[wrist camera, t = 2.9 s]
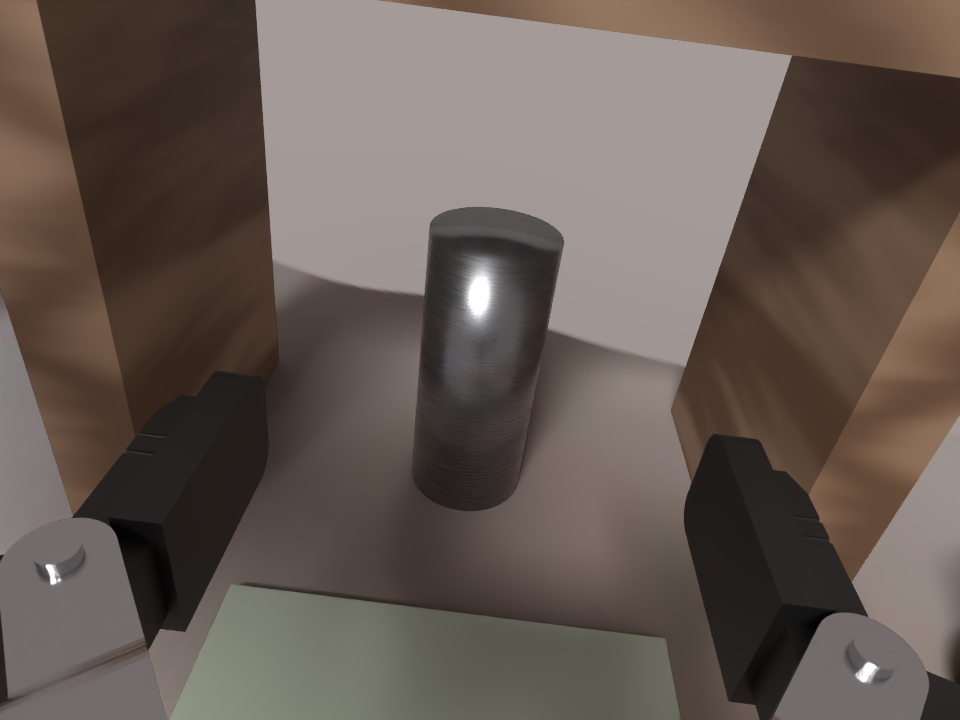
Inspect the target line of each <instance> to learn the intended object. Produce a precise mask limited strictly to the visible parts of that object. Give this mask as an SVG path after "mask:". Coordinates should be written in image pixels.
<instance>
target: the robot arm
mask: <svg viewBox="0 0 960 720" xmlns="http://www.w3.org/2000/svg"><path fill="white" fill-rule="evenodd" d="M268 447H269V443H268V430H267V418H266V407H265V395H264V385H263V381H262V378H261V377H260V376H258V375H250V374H242V373H234V372H226V371H215V372H214V373H213V374H212V375H211V376H210V377H209V379H208V380H207V382H206V383H205V384H204V386H203V387H202V388H201V390H200V391H199V393H198V394H197V395H196V396H188V395H180V396H179V397H177V398H176V399H174V400H172V401H171V402H169V403H168V404H166V405H165V406H163V407H161V408H160V409H158V410H157V411H155V413H154V414H153V415H152V416H151V418H150V419H149V420H148V421H147V423H146V424H145V425H144V427H143V428H142V429H141V430H140V432H139V436H136V437H135V438H134V439H133V441H132V442H131V443H130V444H129V446H128V447H127V448H126V452H125V454H124V453H122V455H121V456H120V457H119V458H118V460H117V461H116V462H115V463H114V465H113V466H112V467H111V469H110V470H109V471H108V472H107V474H106V475H105V476H104V477H103V479H102V480H101V481H100V482H99V484H98V485H97V486H96V488H95V489H94V490H93V491H92V493H91V494H90V495H89V496H88V498H87V499H86V500H85V502H84V503H83V504H82V505H81V507H80V508H79V509H78V510H77V512H76V513H75V514H74V516H73V517H72V518H70V519H63V520H59V521H55V522H52V523H49V524H46V525H43V526H41V527H39V528H37V529H35V530H33V531H31V532H30V533H28V534H26V535H25V536H23V537H22V538H21V539H19V540H18V541H17V542H16V543H15V544H13V545H12V546H11V547H10V548H9V550H8V551H7V552H6V553H5V555H0V720H167V718H166V715H165V711H164V707H163V704H162V700H161V696H160V693H159V689H158V685H157V682H156V678H155V674H154V671H153V667H152V663H151V660H150V656H149V652H148V650H149V648H150V646H151V645H152V643H153V641H154V639H155V637H156V635H157V633H158V632H159V630H160V629H166V630H174V631H183V632H185V631H186V629H187V627H188V625H189V623H190V621H191V619H192V617H193V615H194V613H195V611H196V609H197V607H198V605H199V603H200V601H201V599H202V597H203V595H204V593H205V591H206V589H207V587H208V585H209V583H210V581H211V579H212V577H213V575H214V573H215V571H216V569H217V567H218V565H219V563H220V561H221V559H222V557H223V555H224V552H225V550H226V548H227V546H228V544H229V542H230V540H231V538H232V536H233V534H234V532H235V530H236V528H237V526H238V524H239V522H240V520H241V518H242V516H243V514H244V512H245V510H246V508H247V506H248V504H249V502H250V500H251V498H252V496H253V494H254V492H255V490H256V488H257V486H258V484H259V482H260V480H261V478H262V476H263V473H264V470H265V467H266V462H267V457H268ZM819 519H820V517H819V515H818V513H817V511H816V509H815V507H814V505H813V503H812V501H811V499H810V497H809V495H808V493H807V492H806V491H805V490H804V489H803V488H802V487H801V486H800V485H799V484H798V483H797V482H796V481H795V480H794V479H793V478H792V477H791V476H790V475H789V474H788V473H787V472H786V471H779V470H773V468H772V466H771V464H770V461H769V459H768V457H767V455H766V452H765V450H764V448H763V446H762V444H761V442H760V441H759V440H757V439H753V438H745V437H737V436H729V435H721V434H713V435H712V436H711V437H710V438H709V440H708V442H707V444H706V447H705V449H704V452H703V455H702V457H701V460H700V462H699V465H698V468H697V470H696V473H695V476H694V478H693V481H692V484H691V486H690V489H689V492H688V494H687V498H686V502H685V508H684V527H685V532H686V536H687V540H688V544H689V548H690V552H691V556H692V560H693V564H694V567H695V571H696V575H697V579H698V583H699V587H700V591H701V595H702V599H703V603H704V606H705V610H706V614H707V618H708V622H709V626H710V630H711V634H712V638H713V642H714V646H715V649H716V653H717V657H718V661H719V665H720V669H721V673H722V677H723V681H724V685H725V688H726V692H727V696H728V700H729V702H737V703H745V704H753V705H756V708H757V712H758V715H759V719H760V720H960V684H957V683H955V682H952V681H949V680H947V679H944V678H942V677H939V676H937V675H935V674H932V673H930V672H928V671H926V669H925V667H924V665H923V663H922V661H921V660H920V658H919V657H918V655H917V654H916V652H915V651H914V650H913V649H912V648H911V646H910V645H909V644H908V643H907V642H906V641H905V640H904V639H903V638H901V637H900V636H899V635H898V634H896V633H895V632H894V631H893V630H891V629H889V628H888V627H886V626H885V625H883V624H881V623H879V622H877V621H876V620H873V619H871V618H869V617H868V615H867V613H866V611H865V609H864V607H863V605H862V603H861V601H860V599H859V597H858V595H857V592H856V590H855V588H854V586H853V584H852V582H851V580H850V578H849V576H848V574H847V572H846V570H845V568H844V566H843V564H842V562H841V560H840V558H839V556H838V554H837V552H836V550H835V548H834V546H833V544H832V543H830V542H829V539H830V538H829V536H828V534H827V532H826V530H825V527H824V525H823V523H820V522H819Z"/></svg>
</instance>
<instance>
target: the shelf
mask: <svg viewBox="0 0 960 720" xmlns="http://www.w3.org/2000/svg"><path fill="white" fill-rule="evenodd" d="M381 1H389V2H396V3H403V4H411V5H419V6H426V7H433V8H441V9H449V10H456V11H463V12H471V13H478V14H486V15H493V16H501V17H508V18H516V19H524V20H531V21H538V22H547V23H553V24H561V25H568V26H576V27H584V28H591V29H599V30H606V31H613V32H621V33H629V34H636V35H643V36H651V37H659V38H666V39H673V40H681V41H689V42H696V43H703V44H711V45H719V46H726V47H734V48H741V49H748V50H756V51H763V52H772V53H778V54H786V55H792V58H791V61H790V64H789V67H788V70H787V72H786V75H785V78H784V81H783V84H782V87H781V90H780V93H779V96H778V99H777V101H776V104H775V107H774V110H773V113H772V116H771V119H770V122H769V125H768V128H767V131H766V134H765V137H764V140H763V142H762V145H761V148H760V151H759V154H758V157H757V160H756V163H755V166H754V169H753V172H752V175H751V177H750V180H749V183H748V186H747V189H746V192H745V195H744V198H743V201H742V204H741V207H740V210H739V213H738V216H737V218H736V222H735V224H734V227H733V230H732V233H731V236H730V239H729V242H728V245H727V248H726V251H725V254H724V256H723V259H722V262H721V265H720V268H719V271H718V274H717V277H716V280H715V283H714V286H713V289H712V292H711V294H710V297H709V300H708V303H707V306H706V309H705V312H704V315H703V318H702V321H701V324H700V327H699V330H698V332H697V335H696V338H695V341H694V344H693V347H692V350H691V353H690V356H689V359H688V362H687V365H686V368H685V370H684V373H683V376H682V379H681V382H680V385H679V388H678V391H677V394H676V397H675V400H674V403H673V406H672V409H671V411H672V415H673V418H674V422H675V425H676V429H677V432H678V436H679V439H680V443H681V446H682V450H683V453H684V457H685V460H686V464H687V467H688V471H689V474H690V478H691V481H693V478H694V476H695V473H696V470H697V468H698V465H699V462H700V460H701V457H702V455H703V452H704V449H705V447H706V444H707V442H708V440H709V438H710V437H711V436H712V435H713V434H721V435H729V436H737V437H745V438H753V439H757V440H759V441H760V442H761V444H762V446H763V448H764V450H765V452H766V455H767V457H768V459H769V461H770V464H771V466H772V468H773V470H779V471H786V472H787V473H788V474H789V475H790V476H791V477H792V478H793V479H794V480H795V481H796V482H797V483H798V484H799V485H800V486H801V487H802V488H803V489H804V490H805V491H806V492H807V493H808V495H809V497H810V499H811V501H812V503H813V505H814V507H815V509H816V511H817V513H818V515H819V517H820V519H819V522H820V523H823V525H824V527H825V530H826V532H827V534H828V536H829V538H830V539H829V542H830V543H832V544H833V546H834V548H835V550H836V552H837V554H838V556H839V558H840V560H841V562H842V564H843V566H844V568H845V570H846V572H847V574H848V576H849V578H850V580H851V582H852V580H853V579H854V577H855V576H856V574H857V573H858V571H859V570H860V568H861V567H862V565H863V563H864V562H865V560H866V559H867V557H868V556H869V554H870V553H871V551H872V550H873V548H874V546H875V545H876V543H877V542H878V540H879V539H880V537H881V536H882V534H883V533H884V531H885V529H886V528H887V526H888V525H889V523H890V522H891V520H892V519H893V517H894V516H895V514H896V513H897V511H898V509H899V508H900V506H901V505H902V503H903V502H904V500H905V499H906V497H907V496H908V494H909V492H910V491H911V489H912V488H913V486H914V485H915V483H916V482H917V480H918V479H919V477H920V476H921V474H922V472H923V471H924V469H925V468H926V466H927V465H928V463H929V462H930V460H931V459H932V457H933V455H934V454H935V452H936V451H937V449H938V448H939V446H940V445H941V443H942V442H943V440H944V438H945V437H946V435H947V434H948V432H949V431H950V429H951V427H952V426H953V425H954V423H955V422H956V420H957V418H958V417H959V415H960V0H381ZM265 158H266V157H265V142H264V127H263V112H262V96H261V81H260V66H259V52H258V36H257V21H256V5H255V0H0V289H1V292H2V295H3V298H4V301H5V304H6V307H7V310H8V313H9V317H10V320H11V323H12V326H13V329H14V332H15V335H16V338H17V342H18V345H19V348H20V351H21V354H22V357H23V360H24V363H25V367H26V370H27V373H28V376H29V379H30V382H31V385H32V388H33V391H34V395H35V398H36V401H37V404H38V407H39V410H40V413H41V416H42V420H43V423H44V426H45V429H46V432H47V435H48V438H49V441H50V445H51V448H52V451H53V454H54V457H55V460H56V463H57V466H58V469H59V473H60V476H61V479H62V482H63V485H64V488H65V491H66V494H67V498H68V501H69V504H70V507H71V510H72V513H73V516H74V514H75V513H76V512H77V510H78V509H79V508H80V507H81V505H82V504H83V503H84V502H85V500H86V499H87V498H88V496H89V495H90V494H91V493H92V491H93V490H94V489H95V488H96V486H97V485H98V484H99V482H100V481H101V480H102V479H103V477H104V476H105V475H106V474H107V472H108V471H109V470H110V469H111V467H112V466H113V465H114V463H115V462H116V461H117V460H118V458H119V457H120V456H121V455H122V453H124V454H125V452H126V448H127V447H128V446H129V444H130V443H131V442H132V441H133V439H134V438H135V437H136V436H139V432H140V430H141V429H142V428H143V427H144V425H145V424H146V423H147V421H148V420H149V419H150V418H151V416H152V415H153V414H154V413H155V411H157V410H158V409H160V408H161V407H163V406H165V405H166V404H168V403H169V402H171V401H172V400H174V399H176V398H177V397H179V396H180V395H188V396H196V395H197V394H198V393H199V391H200V390H201V388H202V387H203V386H204V384H205V383H206V382H207V380H208V379H209V377H210V376H211V375H212V374H213V373H214V372H215V371H226V372H234V373H242V374H250V375H258V376H260V377H261V378H262V381H263V385H265V383H266V381H267V379H268V378H269V376H270V374H271V372H272V371H273V369H274V367H275V365H276V364H277V362H278V360H279V354H278V339H277V324H276V309H275V294H274V278H273V263H272V248H271V233H270V218H269V203H268V187H267V173H266V159H265Z"/></svg>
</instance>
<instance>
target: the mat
mask: <svg viewBox="0 0 960 720" xmlns="http://www.w3.org/2000/svg"><path fill="white" fill-rule="evenodd" d="M169 720H681V719H680V713H679V708H678V703H677V697H676V692H675V687H674V681H673V676H672V671H671V665H670V660H669V655H668V650H667V644H666V639H665V638H657V637H649V636H641V635H633V634H625V633H617V632H609V631H601V630H593V629H585V628H577V627H570V626H562V625H554V624H546V623H538V622H530V621H522V620H514V619H506V618H498V617H490V616H482V615H474V614H466V613H458V612H450V611H442V610H434V609H426V608H418V607H410V606H402V605H394V604H386V603H378V602H370V601H362V600H354V599H346V598H338V597H330V596H322V595H314V594H306V593H298V592H290V591H282V590H274V589H266V588H258V587H250V586H242V585H234V584H231V585H230V587H229V589H228V591H227V593H226V596H225V598H224V600H223V602H222V604H221V607H220V609H219V611H218V613H217V616H216V618H215V620H214V622H213V624H212V627H211V629H210V631H209V633H208V635H207V638H206V640H205V642H204V644H203V646H202V649H201V651H200V653H199V655H198V658H197V660H196V662H195V664H194V666H193V669H192V671H191V673H190V675H189V677H188V680H187V682H186V684H185V686H184V689H183V691H182V693H181V695H180V697H179V700H178V702H177V704H176V706H175V708H174V711H173V713H172V715H171V717H170V719H169Z"/></svg>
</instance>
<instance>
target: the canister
mask: <svg viewBox="0 0 960 720" xmlns="http://www.w3.org/2000/svg"><path fill="white" fill-rule="evenodd" d="M563 245H564V240H563V237H562V235H561V233H560V232H559V231H558V230H557V229H556V228H554V227H553V226H551V225H550V224H548V223H547V222H545V221H543V220H540V219H538V218H536V217H533V216H530V215H527V214H524V213H520V212H516V211H512V210H506V209H500V208H489V207H467V208H459V209H454V210H450V211H446V212H443V213H441V214H439V215H438V216H436V217H435V218H434V219H433V220H432V222H431V223H430V230H429V243H428V258H427V272H426V284H425V297H424V311H423V324H422V337H421V351H420V364H419V378H418V391H417V405H416V418H415V432H414V445H413V459H412V476H413V480H414V482H415V484H416V486H417V487H418V489H419V490H420V491H421V492H422V493H423V494H424V495H425V496H426V497H428V498H429V499H431V500H432V501H434V502H436V503H438V504H440V505H442V506H445V507H448V508H452V509H456V510H464V511H477V510H484V509H488V508H491V507H494V506H497V505H499V504H501V503H502V502H504V501H505V500H507V499H508V498H509V497H510V496H511V494H512V493H513V492H514V490H515V488H516V486H517V482H518V477H519V472H520V467H521V462H522V457H523V452H524V446H525V441H526V436H527V431H528V426H529V421H530V415H531V410H532V405H533V400H534V395H535V390H536V385H537V379H538V374H539V369H540V364H541V359H542V354H543V348H544V343H545V338H546V333H547V328H548V323H549V317H550V312H551V307H552V302H553V297H554V292H555V287H556V281H557V276H558V271H559V266H560V261H561V256H562V250H563Z"/></svg>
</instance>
